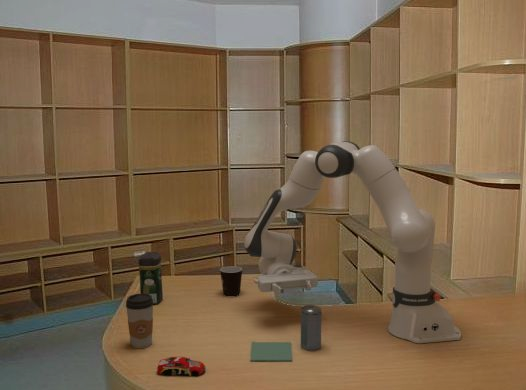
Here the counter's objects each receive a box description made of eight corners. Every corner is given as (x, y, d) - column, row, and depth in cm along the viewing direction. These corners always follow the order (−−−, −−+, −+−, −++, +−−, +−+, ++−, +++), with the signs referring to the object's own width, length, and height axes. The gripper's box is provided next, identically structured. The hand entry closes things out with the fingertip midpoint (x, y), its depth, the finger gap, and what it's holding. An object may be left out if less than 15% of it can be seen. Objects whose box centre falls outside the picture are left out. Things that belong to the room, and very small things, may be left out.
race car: (207, 368, 153) (207, 355, 152) (203, 378, 147) (203, 364, 147) (161, 366, 154) (160, 353, 153) (155, 376, 149) (155, 362, 148)
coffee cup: (128, 351, 163) (125, 303, 161) (127, 340, 171) (124, 294, 169) (156, 348, 166) (154, 300, 163) (154, 337, 173) (152, 291, 171)
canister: (319, 342, 169) (320, 305, 167) (321, 350, 163) (321, 312, 161) (300, 342, 169) (300, 305, 167) (301, 350, 163) (301, 312, 161)
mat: (290, 343, 168) (290, 342, 168) (292, 361, 156) (292, 359, 156) (251, 343, 168) (251, 342, 168) (250, 361, 156) (250, 360, 156)
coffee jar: (143, 296, 211) (141, 250, 208) (164, 296, 211) (162, 249, 208) (138, 305, 201) (135, 257, 198) (159, 305, 201) (157, 256, 198)
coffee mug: (239, 298, 208) (239, 273, 206) (217, 297, 210) (217, 272, 208) (246, 288, 219) (246, 264, 218) (225, 287, 221) (225, 263, 219)
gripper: (252, 270, 185) (264, 282, 172) (308, 265, 191) (324, 277, 178) (252, 288, 186) (264, 302, 173) (308, 282, 192) (324, 296, 179)
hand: (295, 289), depth 175 cm, fingers open, 8 cm apart
